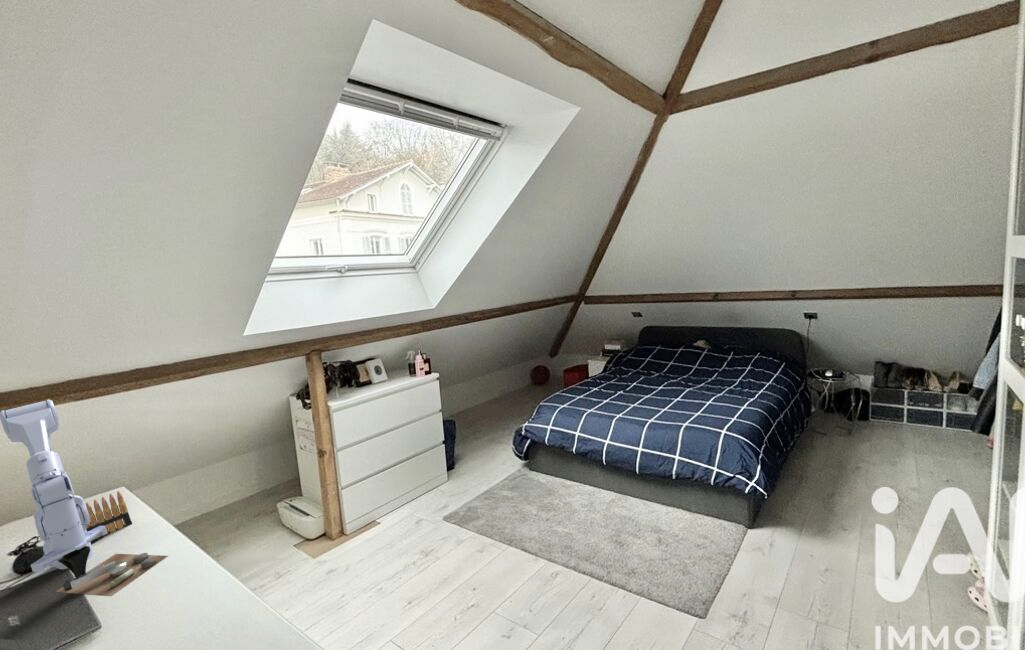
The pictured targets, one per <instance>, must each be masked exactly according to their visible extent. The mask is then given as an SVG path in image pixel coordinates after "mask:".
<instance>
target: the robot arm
mask: <svg viewBox="0 0 1025 650" xmlns="http://www.w3.org/2000/svg"><path fill="white" fill-rule="evenodd" d="M53 401H54V400H51V399H49V398H48V399H46V400H43V401H39V402H34V403H30V404H26V405H22V406H19V407H13V408H10V409H6V410H4V409H3V410H1V411H0V423H1V426H2V429H3V431H4V434H6V436H7V439H8V440H10V441H11V442H12V443H22V444H23V445H24V446H25V447H26V448H27V450H28V452H29V456H30V457H29V459H28V460H27V461H26V465H25V466H26V468H27V472H28V476H29V479H30V483H31V486H32V487H30V493H31V496H32V499H33V502H34V505H35V507H36V508H37V509H36V510H35V511H34V514H33V519H34V523H35V526H36V527H35V528H36V530H37V534H38V536H39V539H40V541H42V542H44V543H43V547H42V550H43V553H44V555H43V556H42V557H41V558H39V559H38V560H36V561H35V562H32V563H31V564H30V568H31V570H32V572H33V573H38V574H39V573H42V572H43V571H44V570H45V569H46V568H48V569H47V570H45V572H48V571H49V570H50V569H53V568H57V569H59V570H66V569H69V571H70V572H71V573H72V574H73V575H74V578H76V577H79V576H81V575H83V574H86V572H87V571H86V570H87V564H88V563H87V562H88V560H89V559H90V558H92V557H93V556H94V554H95V552H94V549H93V547H92V545H91V542H90V541H92V540H94V539H96V538H97V537H99V536H101V535H105V534H106V533H107V530H106V527H105V526H98V527H96V528H94V529H92V530H90V531H88V532H87V530H86V525H88V524H89V523H90V521H91V520H90V517H89V514H88V511H87V508H86V503H85V500H84V498H83V497H82V496H81V495H78V494H77V495H76V494H75V491H74V488H73V486H72V482H71V479H70V476H69V475H68V474H67V473H66V470H64V466H63V463H62V459H61V457H60V454H59V453H57V452H56V451H53V448H52V446H51V437H52V436H51V435H52V434H53V433H54V432H56V431H58V430H59V426H60V423H59V416H58V414H57V410H56V407H55V404H54V402H53ZM69 491H70V492H71V494H70V493H69ZM85 524H86V525H85ZM89 525H90V524H89Z"/></svg>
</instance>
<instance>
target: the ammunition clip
mask: <svg viewBox="0 0 1025 650" xmlns="http://www.w3.org/2000/svg"><path fill="white" fill-rule="evenodd" d="M116 497H117V498H116V499H117V502H116V499H115V497H114V495H113V494H112V493H110V494H109V504H110V506H109V504H108V502H107V499H106V498H105V497H104V496H102V497H101V506H102V508H101V506H100V503H99V502H98V501H97V499H94V500H93V509H94V511H93V509H92V506H91V505H90V503H88V502H86V503H85V505H86V508H87V511H88V514H89V517H90V520H91V521H90V523H89V524H88V525H86V524H85V525H86V530H87V532H88V531H90V530H92V529H94V528H96V527H98V526H105V527H106V530H107V533H106V534H105V535H101V536H99V537H97V538H96V539H94V540H92V541H90V542H91V546H92V545H93V544H95V543H97V542H99V541H100V540H102V539H104V538H105V537H107V536H109V535H111V534H112V533H114V532H116V531H118V530H121V529H124V528H125V527H128V526H132V525H133V522H132V519H131V517H130V514H129V510H128V507H127V503H126V502H125V500H124V497H123V494H122V493H121V492H120V491H119V490H118V491H116ZM117 503H118V504H117Z"/></svg>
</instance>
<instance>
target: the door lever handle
mask: <svg viewBox="0 0 1025 650" xmlns="http://www.w3.org/2000/svg"><path fill="white" fill-rule="evenodd" d="M128 570H129V568H128V564H127V561H120V562H117V563H115V561H113V562H111V563H108V564H106V565H104V566H101V567H99V568H97V569H95V570H92V571H90V572H88V571H87V572H88V573H86V574H83V575H81V576H79V577H76V578H75V577H74V578H73V579H67V580H65V581H63V582H62V583H61V585H62V587H63V588H64V591H69V590H71V589H72V588H75V587H77V586H79V585H81V584H83V583H86V582H88V581H90V580H92V579H95V578H97V577H99V576H101V575H104V574H106V573H108V572H109V574H110V577H111V578H116V577H119V576H121V575H122V574H124V573H125V572H127V571H128Z"/></svg>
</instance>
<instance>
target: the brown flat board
mask: <svg viewBox="0 0 1025 650" xmlns="http://www.w3.org/2000/svg"><path fill="white" fill-rule="evenodd" d="M167 557H169V555H155V554H148V552H143V553H140V554H134V553H133V554H131V553H130V554H129V553H115V554H113V555H112V556H109V557H108V558H107V559H105V560H104V561H102V562H100V563H99V564H97V565H95V566H94V567H92V568H91V569H90V570H88V571H86V573H88V572H90V571H92V570H95V569H97V568H99V567H101V566H104V565H106V564H108V563H111V562H113V561H115V563H117V562H120V561H127V564H128V568H129V570H128V571H127V572H125V573H124V574H122V575H121V576H119V577H116V578H111V577H110V574H109V572H108V573H106V574H104V575H101V576H99V577H97V578H95V579H92V580H90V581H88V582H86V583H83V584H81V585H79V586H77V587H75V588H72V589H71V590H69V591H64V588H63V586H61V588H59V589H58V590H56V591H55V593H64V594H76V595H87V596H89V595H91V596H104V597H112V596H114V595H115V594H117V593H118V592H119V591H121V590H123V588H126V587H127V586H128V585H129V584H131V583H132V582H134V581H135V580H136V579H138V578H140V577H141V576H142V575H144V574H145V573H146V572H147V571H149V570H151V569H152V568H154V567H155V566H157V564H159V563H160V562H162V561H163V560H165V559H166V558H167Z"/></svg>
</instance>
